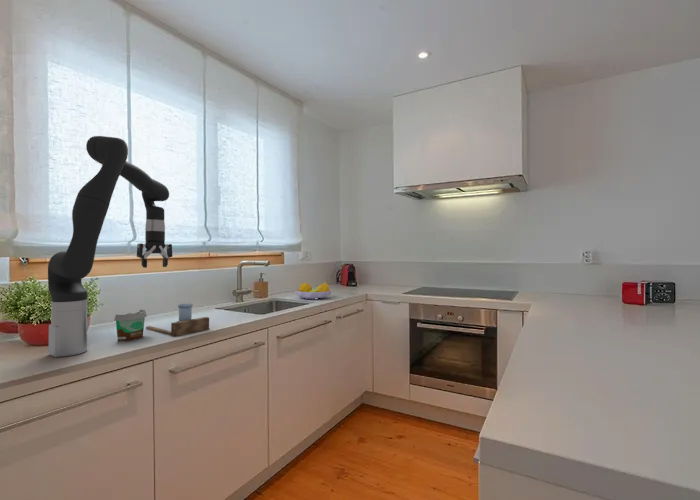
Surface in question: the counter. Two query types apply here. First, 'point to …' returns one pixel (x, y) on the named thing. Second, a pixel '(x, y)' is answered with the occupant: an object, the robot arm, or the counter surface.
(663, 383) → the counter surface
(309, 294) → the fruit bowl
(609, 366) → the counter surface
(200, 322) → the channel
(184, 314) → the block
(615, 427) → the counter surface
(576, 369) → the counter surface
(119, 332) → the food container
